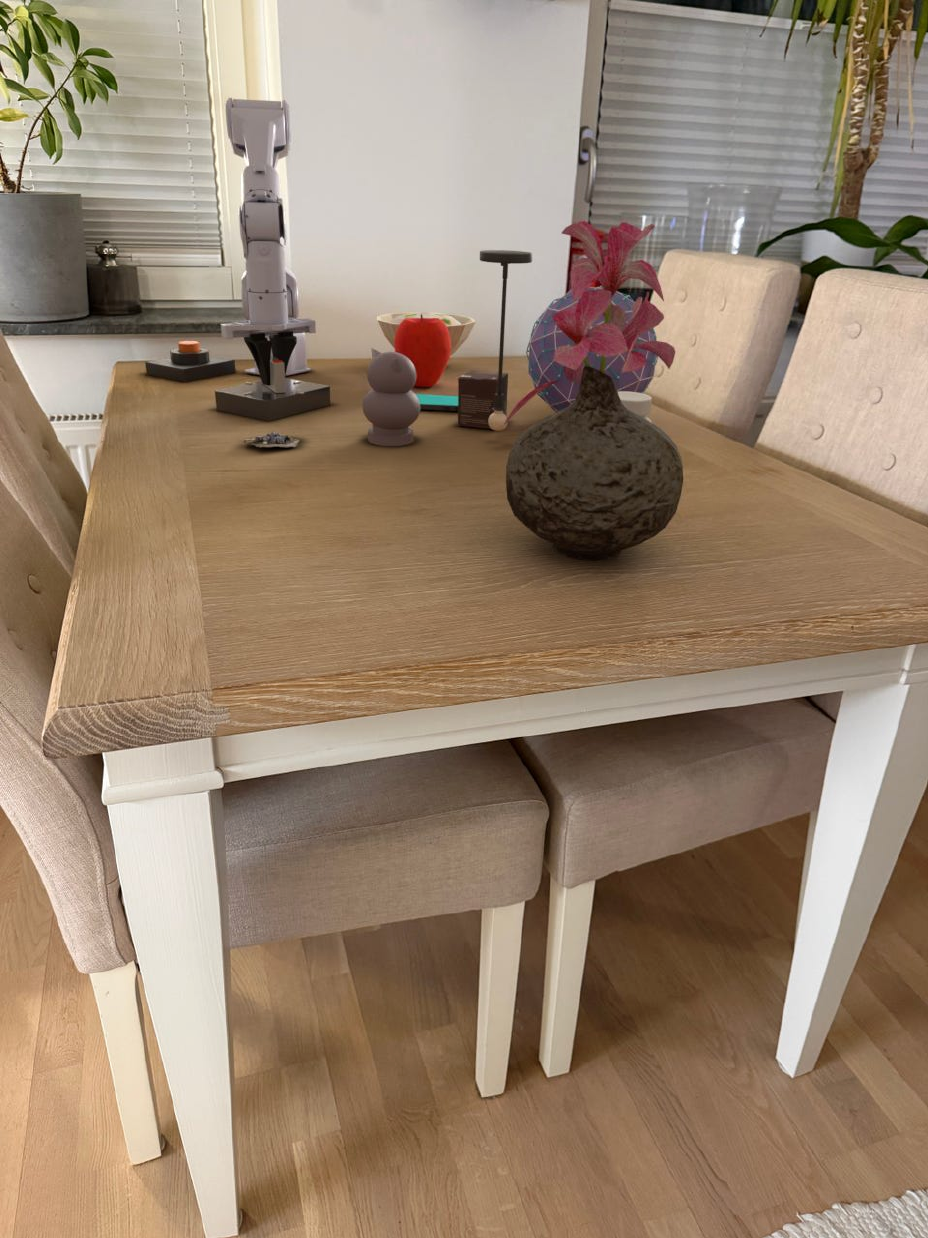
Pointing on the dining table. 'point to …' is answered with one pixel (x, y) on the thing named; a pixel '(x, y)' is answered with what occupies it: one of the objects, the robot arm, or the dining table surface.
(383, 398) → the cat figurine
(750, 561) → the dining table surface
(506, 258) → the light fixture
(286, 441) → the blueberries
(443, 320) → the bowl
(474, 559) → the dining table surface
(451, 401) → the smartphone
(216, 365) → the control block
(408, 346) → the apple
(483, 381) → the box
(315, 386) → the tile base
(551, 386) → the decorative sphere
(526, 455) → the vase
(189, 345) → the button
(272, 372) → the upright gray tile
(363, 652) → the dining table surface
